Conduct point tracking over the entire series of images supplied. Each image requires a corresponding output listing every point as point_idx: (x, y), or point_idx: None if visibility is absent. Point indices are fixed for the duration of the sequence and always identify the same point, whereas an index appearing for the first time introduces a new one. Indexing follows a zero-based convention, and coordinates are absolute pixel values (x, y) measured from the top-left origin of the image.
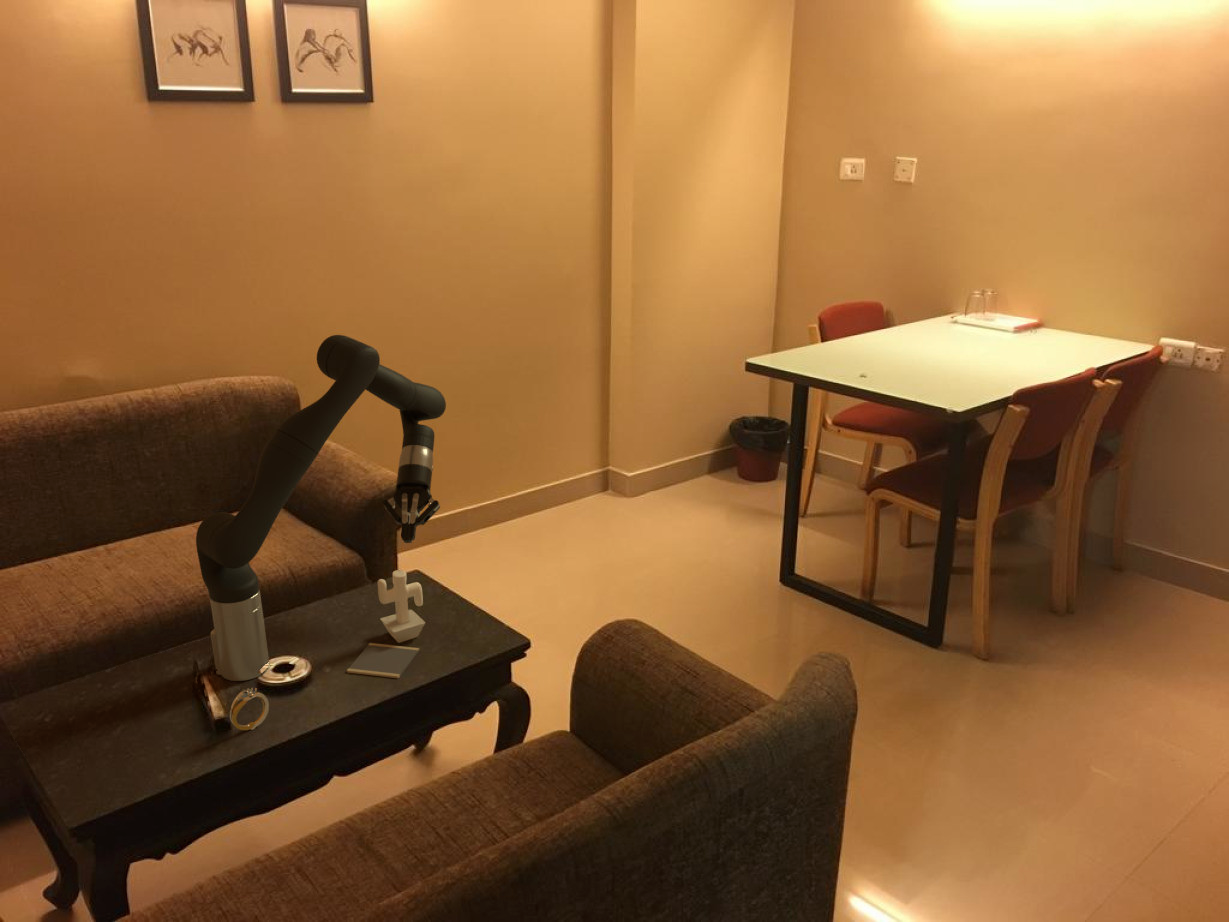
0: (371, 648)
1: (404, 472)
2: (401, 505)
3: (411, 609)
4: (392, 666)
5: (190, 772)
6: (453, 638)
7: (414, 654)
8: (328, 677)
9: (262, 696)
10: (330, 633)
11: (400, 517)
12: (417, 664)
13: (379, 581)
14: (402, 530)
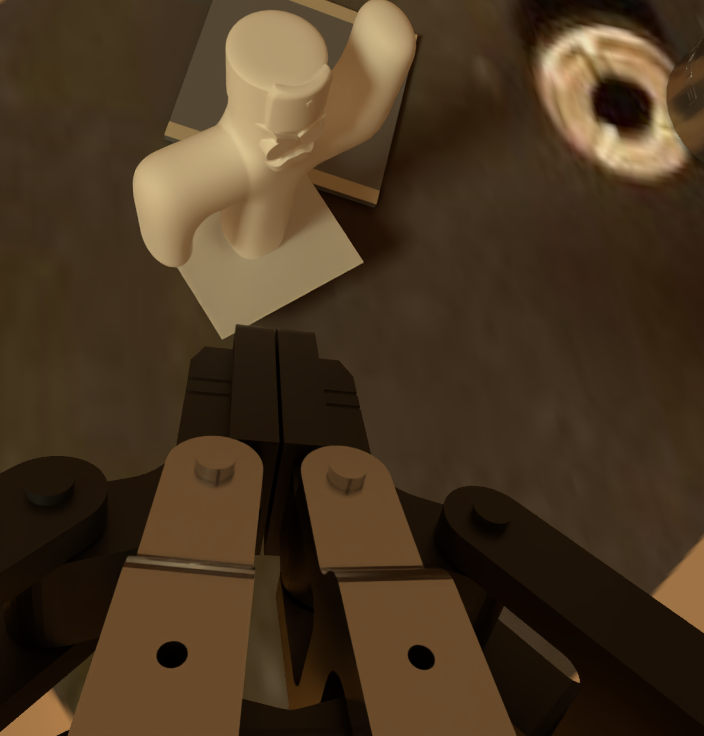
0: (361, 164)
1: None
2: None
3: (221, 336)
4: None
5: None
6: (10, 213)
7: (180, 94)
8: (467, 24)
9: None
10: (546, 313)
11: (436, 566)
12: (162, 42)
13: (402, 13)
14: (348, 417)
